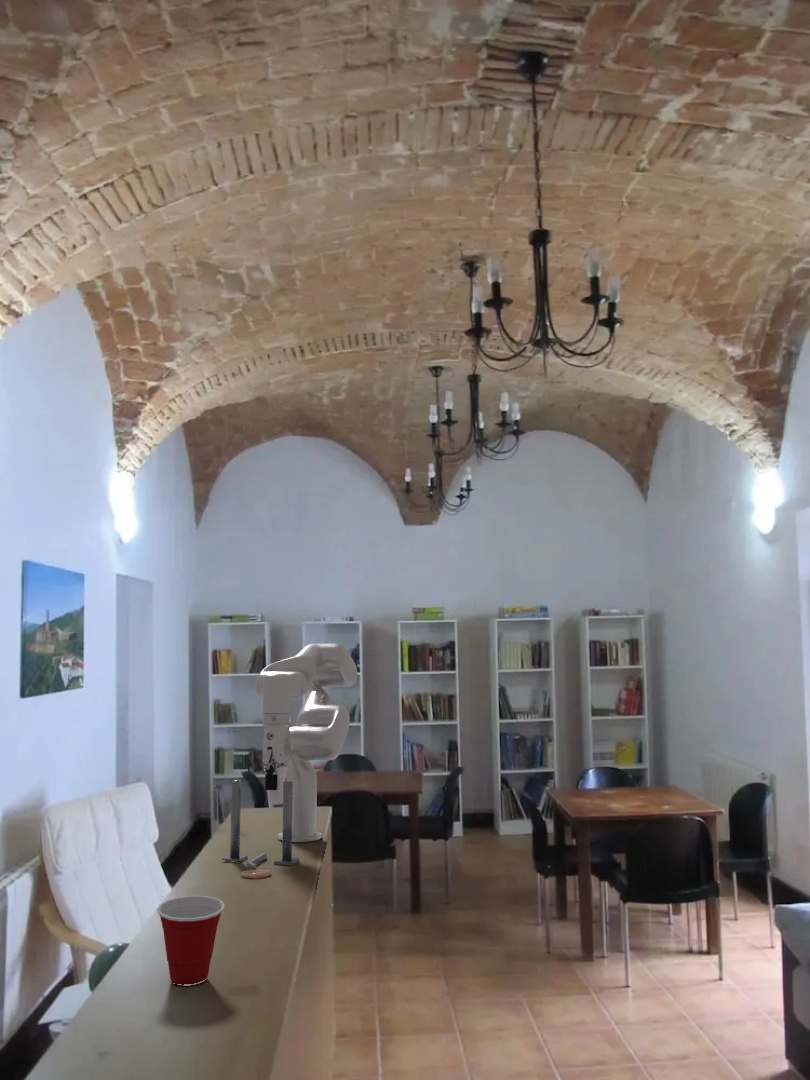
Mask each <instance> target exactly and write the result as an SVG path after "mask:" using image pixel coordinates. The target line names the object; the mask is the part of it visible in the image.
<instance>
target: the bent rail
mask: <svg viewBox="0 0 810 1080" xmlns="http://www.w3.org/2000/svg"><path fill="white" fill-rule="evenodd" d="M267 855H268V853H267V852H262V853H260V854H258V855H257V856H255V857H253V858H251V859H250V860H248V861H247V862H246V869H247V870H248V869H249V870H251V869H258V868H257V864H258V865H260V864H261V863H263V862H264V861H266V860H267V859H268V858H267ZM265 859H266V860H265Z"/></svg>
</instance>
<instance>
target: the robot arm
mask: <svg viewBox="0 0 810 1080" xmlns="http://www.w3.org/2000/svg"><path fill="white" fill-rule="evenodd" d="M357 678H358V669H357V665H356V663H355V661H354V659H353V657H352V655H351V654H350V652H349V651H348V650H347V648H346V647H345V646H344V645H342V644H341V643H336V642H335V643H334V642H333V643H332V642H331V643H329V642H328V643H327V642H326V643H322V642H321V643H319V642H318V643H316V642H315V643H310V644H307V645H305V646H304V647H303V648H302V649H301V650H300V651H299V652H298V653H296V654H295V655H294V656H292V657H288V658H285V659H282V660H280V661H275V662H273V663H271V664H269V665H267V666H266V667H264V668H263V669H262V670H261V671H260V672H259V673H258V675H257V677H256V680H255V685H254V686H255V692H256V693H257V695H258V696H259V697H260V698H262V713H261V714H262V718H261V719H262V723H261V724H262V725H261V726H262V727H264V729H263V730H264V731H263V741H262V761H263V765H264V766H265V771H264V776H265V778H264V780H265V781H264V789H265V791H267V790H277V775H276V771H277V764H279V765H286V766H288V770H287V771H286V779H285V782H286V781H292V782H293V802H292V843H307V842H315V841H318V840H320V839H322V836H323V834H322V832H320V831H317V823H318V822H317V814H318V813H317V811H318V810H317V808H318V807H317V805H318V804H317V800H318V799H317V795H318V775H317V772H316V770H315V767H314V765H313V764H312V763H311V761H333V760H336V759H337V758H338V757H339V756H340V753H341V751H342V748H343V746H344V743H345V741H346V738H347V736H348V733H349V730H350V729H349V728H350V723H351V721H350V720H351V719H350V713H349V711H348V709H347V708H346V707H345V706H344V705H340V704H333V700H332V698H331V696H330V694H329V693H328V692H327V690H325V689H324V688H348V687H349V688H350V687H351V686H354V684H355V683H356V682H357ZM302 697H304V698H305V699H304V702H303V704H302V707H300V710H299V712H298V715H297V717H296V721H295V726H291V717H292V715H291V713H292V712H291V707H292V705H291V703H292V702H291V701H292V700H296V699H297V700H298V699H300V698H302ZM290 726H291V727H290ZM273 766H274V769H273ZM282 836H283V831H282V832H279V833H278V834H277V840H278V841H281V840H282Z"/></svg>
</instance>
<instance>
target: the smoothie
mask: <svg viewBox="0 0 810 1080" xmlns="http://www.w3.org/2000/svg"><path fill="white" fill-rule="evenodd" d="M273 769H274V766H273ZM287 770H288V766H286V765H279V764H277V771H276V775H277V790H266V792H267V800H268V801H267V804H269V805H275V806H276V805H283V782H285V779H286V771H287ZM263 771H264V772H265V765H264V766H263Z"/></svg>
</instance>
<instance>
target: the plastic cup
mask: <svg viewBox="0 0 810 1080" xmlns="http://www.w3.org/2000/svg"><path fill="white" fill-rule="evenodd" d="M224 908H225V903H224V902H223V901H222V900H221V899H218V898H216V897H213V896H206V895H205V896H204V895H185V896H179V897H174V898H170V899H167V900H165V901H163V902H162V903H160V904H159V905H158V906H157V909H156V911H157V913H158V915H159V917H160V922H161V927H162V931H163V937H164V938H163V939H164V945H165V946H164V947H165V953H166V960H167V964H168V971H169V972H168V973H169V978H170V981H171V982H170V983H171V984H172V983H175V984H182V985H184V984H194V983H198V982H200V981H203V980H205V979H206V978H207V979H208V976H209V973H210V966H211V961H212V958H213V953H214V947H215V941H216V935H217V931H218V925H219V922H220V919H221V914H222V913H223V911H224Z"/></svg>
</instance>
